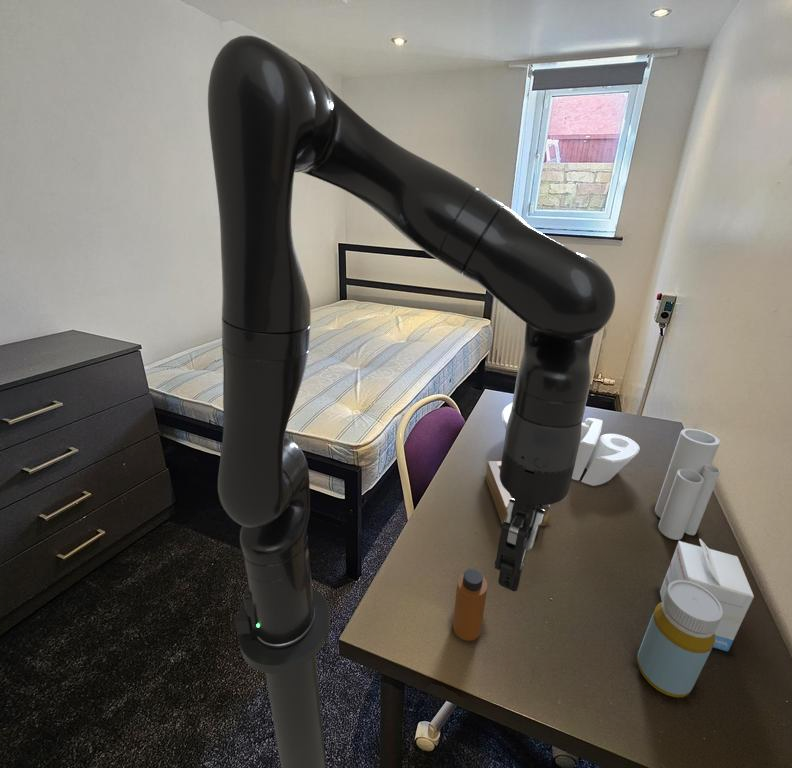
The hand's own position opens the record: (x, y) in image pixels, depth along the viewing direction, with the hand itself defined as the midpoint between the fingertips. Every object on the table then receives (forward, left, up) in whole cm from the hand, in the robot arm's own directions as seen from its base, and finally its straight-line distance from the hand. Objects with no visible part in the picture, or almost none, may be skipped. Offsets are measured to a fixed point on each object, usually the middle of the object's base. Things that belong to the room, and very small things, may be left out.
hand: (518, 561), depth 51 cm
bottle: (+24, -2, -21) cm, 31 cm away
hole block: (+13, +36, -21) cm, 44 cm away
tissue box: (+34, +6, -21) cm, 40 cm away
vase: (+46, +28, -21) cm, 57 cm away
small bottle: (-3, +6, -21) cm, 22 cm away
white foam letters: (+30, +53, -21) cm, 64 cm away
